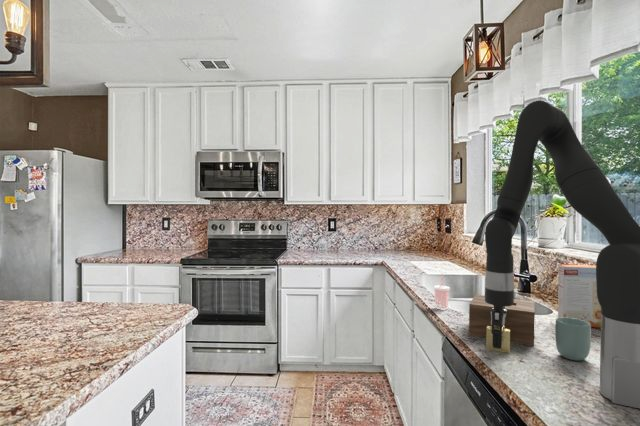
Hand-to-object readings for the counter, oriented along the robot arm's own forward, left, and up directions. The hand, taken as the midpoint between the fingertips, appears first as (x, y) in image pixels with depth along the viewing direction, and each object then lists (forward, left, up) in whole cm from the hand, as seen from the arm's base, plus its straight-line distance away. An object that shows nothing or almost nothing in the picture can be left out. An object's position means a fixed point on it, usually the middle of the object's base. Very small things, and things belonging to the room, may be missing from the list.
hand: (498, 343), depth 106 cm
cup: (+4, -18, -2) cm, 19 cm away
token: (0, 0, -2) cm, 2 cm away
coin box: (+16, 0, -2) cm, 16 cm away
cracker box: (+41, -24, -2) cm, 48 cm away
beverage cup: (+35, +23, -2) cm, 42 cm away
